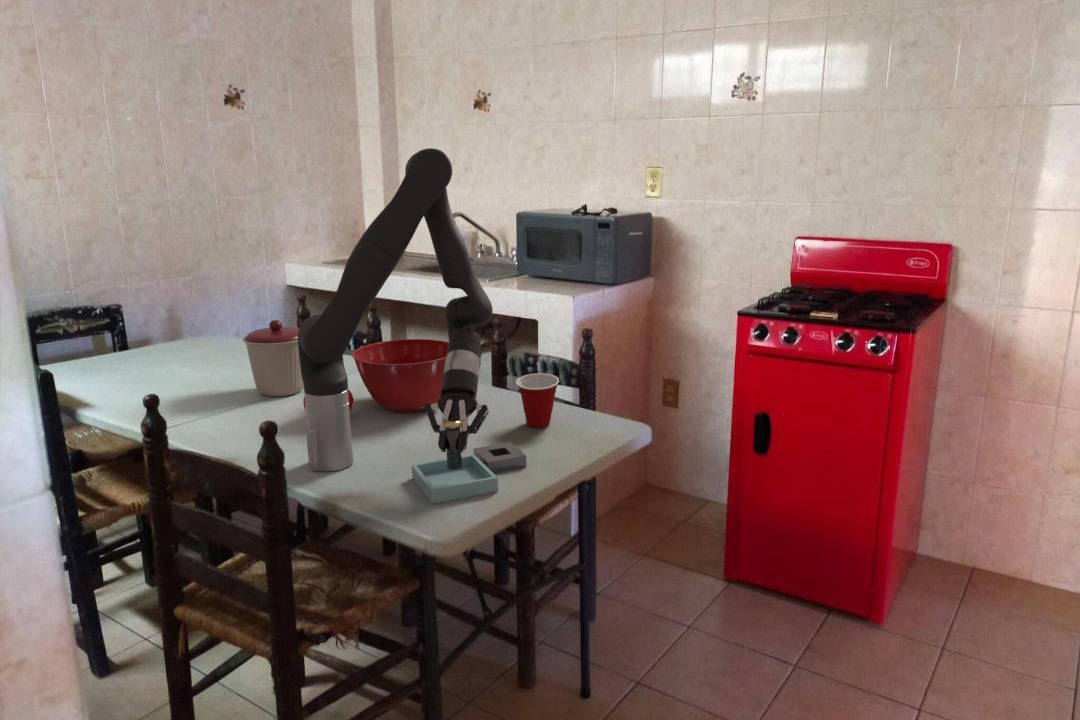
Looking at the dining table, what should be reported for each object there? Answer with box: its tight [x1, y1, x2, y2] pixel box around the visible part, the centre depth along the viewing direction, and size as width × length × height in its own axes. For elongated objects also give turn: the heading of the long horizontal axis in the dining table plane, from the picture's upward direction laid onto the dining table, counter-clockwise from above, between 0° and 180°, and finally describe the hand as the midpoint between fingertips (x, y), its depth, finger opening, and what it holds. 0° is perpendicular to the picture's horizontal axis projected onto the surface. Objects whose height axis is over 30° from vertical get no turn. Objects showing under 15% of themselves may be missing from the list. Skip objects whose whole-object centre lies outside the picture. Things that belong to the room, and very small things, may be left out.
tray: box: [411, 453, 499, 505], centre depth 163 cm, size 14×14×3 cm
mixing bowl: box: [351, 338, 449, 413], centre depth 213 cm, size 28×28×15 cm
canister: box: [242, 319, 304, 397], centre depth 224 cm, size 18×18×21 cm
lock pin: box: [444, 418, 462, 470], centre depth 161 cm, size 4×4×10 cm
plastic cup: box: [515, 373, 560, 429], centre depth 197 cm, size 11×11×12 cm
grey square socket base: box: [473, 441, 527, 473], centre depth 175 cm, size 9×9×2 cm
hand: (451, 450), depth 160 cm, fingers closed on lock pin, 3 cm apart
